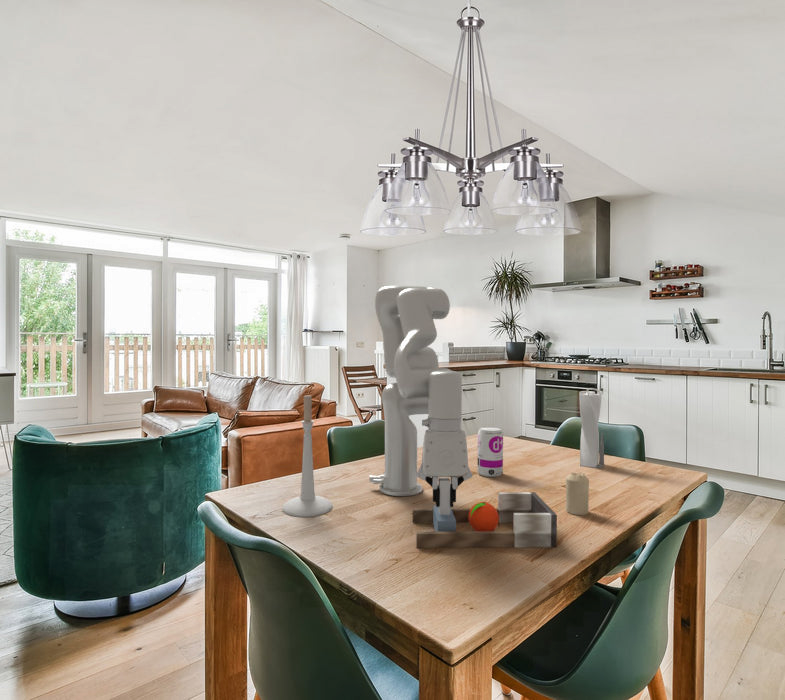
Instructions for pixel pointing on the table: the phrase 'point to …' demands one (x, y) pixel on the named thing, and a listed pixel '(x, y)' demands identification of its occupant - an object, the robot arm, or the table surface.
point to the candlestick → (307, 476)
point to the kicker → (444, 509)
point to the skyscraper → (590, 430)
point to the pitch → (521, 508)
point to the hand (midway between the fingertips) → (444, 504)
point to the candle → (577, 494)
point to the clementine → (483, 517)
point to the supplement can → (490, 451)
